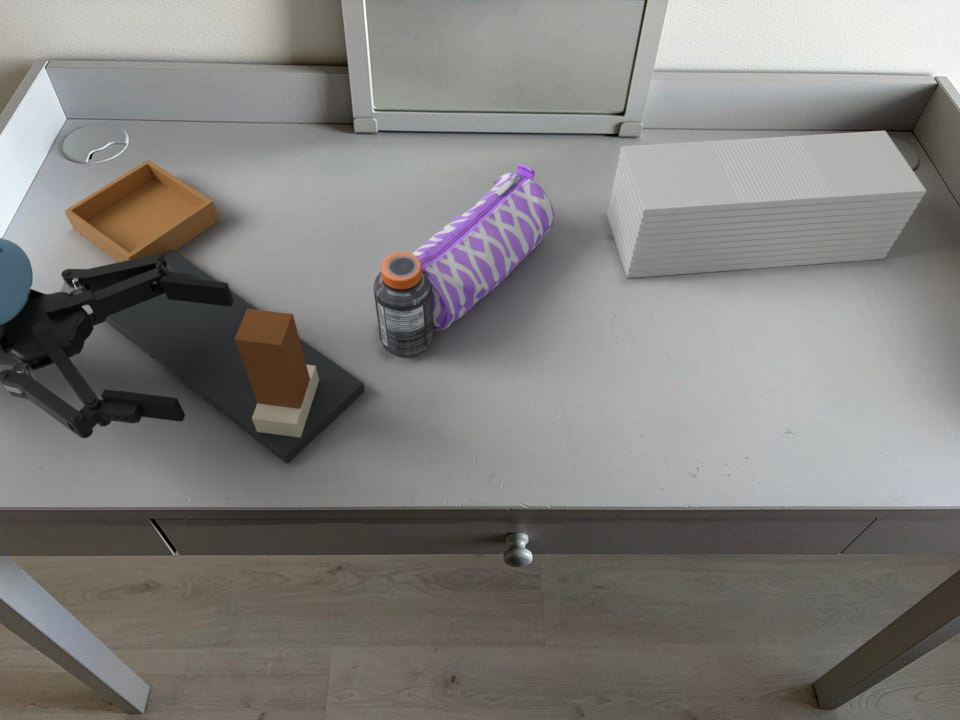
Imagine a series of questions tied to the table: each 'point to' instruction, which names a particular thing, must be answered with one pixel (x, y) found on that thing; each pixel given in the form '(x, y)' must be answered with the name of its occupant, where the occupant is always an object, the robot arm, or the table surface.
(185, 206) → the tray
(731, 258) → the stack of papers
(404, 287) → the pill bottle
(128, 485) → the table surface
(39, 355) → the robot arm
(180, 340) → the slate board
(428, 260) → the pencil case
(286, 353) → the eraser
